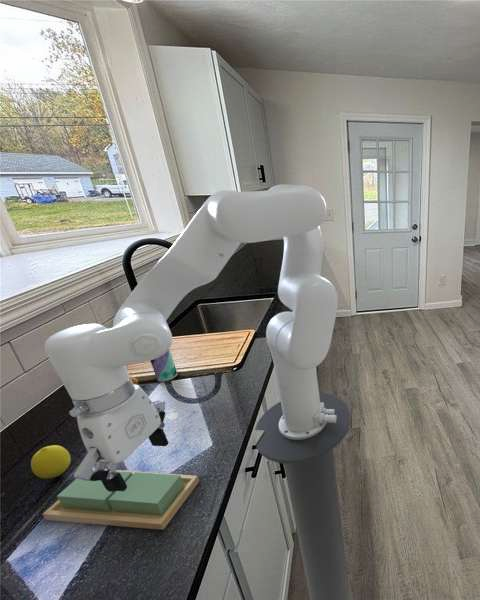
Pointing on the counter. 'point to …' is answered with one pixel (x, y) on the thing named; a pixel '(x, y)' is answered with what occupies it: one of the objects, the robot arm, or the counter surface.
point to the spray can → (164, 367)
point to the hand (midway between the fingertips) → (141, 465)
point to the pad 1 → (88, 495)
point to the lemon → (50, 461)
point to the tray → (123, 519)
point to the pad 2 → (147, 494)
